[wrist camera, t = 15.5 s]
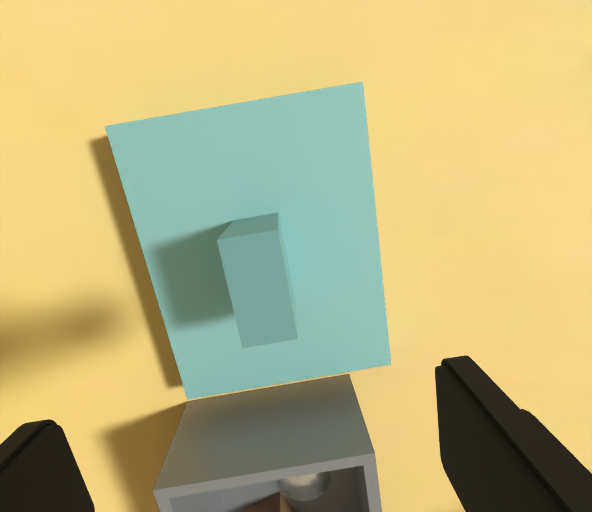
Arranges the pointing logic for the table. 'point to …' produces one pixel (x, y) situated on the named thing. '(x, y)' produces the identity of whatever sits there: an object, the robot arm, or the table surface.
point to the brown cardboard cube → (271, 504)
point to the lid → (260, 237)
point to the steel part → (305, 486)
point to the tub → (271, 450)
